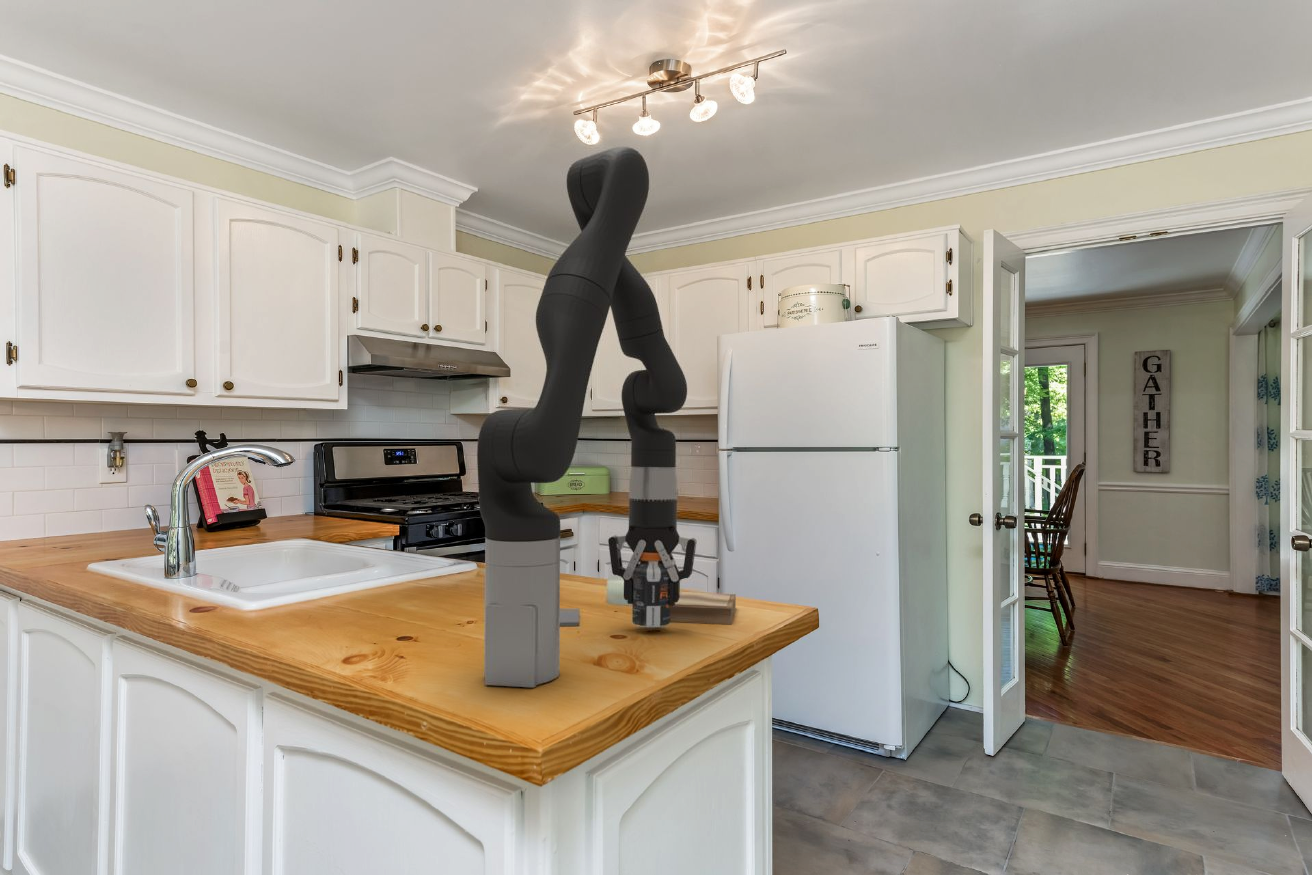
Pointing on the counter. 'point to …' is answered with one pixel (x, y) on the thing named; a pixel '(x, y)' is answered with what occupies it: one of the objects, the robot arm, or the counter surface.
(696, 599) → the riser
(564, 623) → the coaster
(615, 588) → the pale green puck
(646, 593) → the pill bottle
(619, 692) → the counter surface
